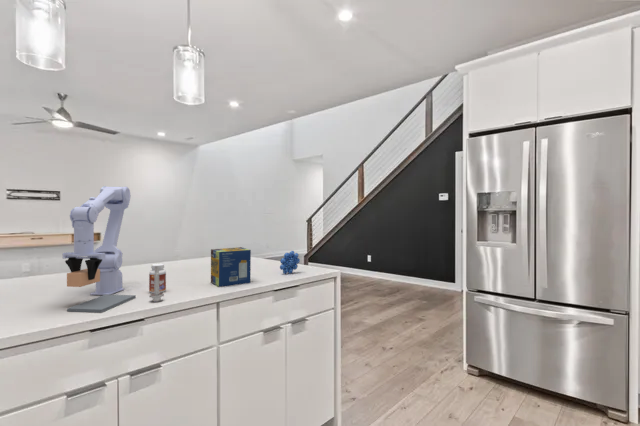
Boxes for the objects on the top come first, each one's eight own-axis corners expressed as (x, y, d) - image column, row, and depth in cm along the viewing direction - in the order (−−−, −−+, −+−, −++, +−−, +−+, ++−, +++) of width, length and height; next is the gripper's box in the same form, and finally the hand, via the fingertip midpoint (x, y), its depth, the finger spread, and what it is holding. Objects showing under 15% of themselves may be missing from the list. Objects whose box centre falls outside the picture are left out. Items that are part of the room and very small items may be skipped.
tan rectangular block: (66, 286, 115) (66, 273, 115) (87, 280, 124) (87, 268, 124) (80, 287, 114) (80, 273, 114) (100, 281, 123) (100, 268, 123)
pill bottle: (148, 294, 134) (148, 266, 134) (149, 290, 139) (149, 263, 139) (166, 292, 136) (166, 265, 136) (165, 289, 142) (166, 263, 142)
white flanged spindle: (166, 299, 126) (158, 303, 122) (155, 298, 127) (146, 302, 122) (166, 264, 126) (158, 267, 121) (155, 264, 127) (146, 266, 122)
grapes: (295, 271, 185) (295, 249, 184) (301, 273, 179) (301, 250, 179) (276, 273, 178) (276, 250, 178) (282, 275, 172) (282, 252, 172)
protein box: (210, 282, 155) (210, 249, 154) (241, 278, 164) (241, 247, 164) (218, 287, 146) (218, 251, 146) (251, 282, 156) (251, 249, 155)
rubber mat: (105, 297, 129) (105, 294, 129) (135, 297, 128) (135, 295, 128) (67, 311, 111) (66, 308, 111) (101, 312, 110) (101, 309, 110)
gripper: (54, 241, 116) (55, 281, 116) (94, 242, 114) (95, 282, 115) (71, 239, 123) (71, 276, 123) (109, 240, 121) (109, 277, 122)
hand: (84, 279), depth 119 cm, fingers closed on tan rectangular block, 5 cm apart
